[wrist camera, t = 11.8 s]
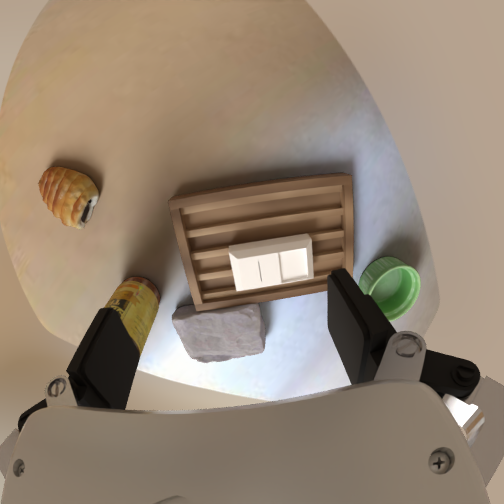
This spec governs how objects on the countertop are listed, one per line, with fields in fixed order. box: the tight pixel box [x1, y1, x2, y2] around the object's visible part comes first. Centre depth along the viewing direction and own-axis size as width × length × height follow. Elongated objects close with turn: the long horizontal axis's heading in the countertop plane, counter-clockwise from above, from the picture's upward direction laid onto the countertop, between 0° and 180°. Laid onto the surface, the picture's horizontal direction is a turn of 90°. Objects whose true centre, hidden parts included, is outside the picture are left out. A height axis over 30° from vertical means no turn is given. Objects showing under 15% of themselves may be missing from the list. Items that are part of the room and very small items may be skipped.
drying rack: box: [168, 172, 354, 311], centre depth 31 cm, size 14×20×2 cm
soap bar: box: [229, 233, 314, 291], centre depth 30 cm, size 5×9×3 cm, turn 98°
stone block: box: [172, 303, 266, 363], centre depth 36 cm, size 12×5×10 cm
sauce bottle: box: [104, 277, 160, 356], centre depth 25 cm, size 6×6×20 cm
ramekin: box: [359, 257, 421, 322], centre depth 34 cm, size 9×9×4 cm
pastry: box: [38, 167, 99, 230], centre depth 27 cm, size 9×7×4 cm
